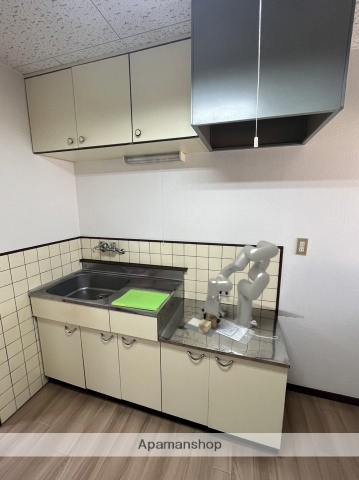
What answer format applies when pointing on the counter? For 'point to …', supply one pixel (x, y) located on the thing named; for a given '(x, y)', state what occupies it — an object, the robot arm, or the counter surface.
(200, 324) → the maple block
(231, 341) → the counter surface
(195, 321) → the build board
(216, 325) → the walnut block
